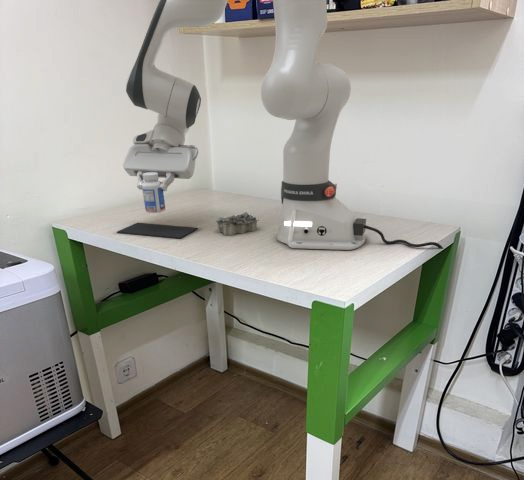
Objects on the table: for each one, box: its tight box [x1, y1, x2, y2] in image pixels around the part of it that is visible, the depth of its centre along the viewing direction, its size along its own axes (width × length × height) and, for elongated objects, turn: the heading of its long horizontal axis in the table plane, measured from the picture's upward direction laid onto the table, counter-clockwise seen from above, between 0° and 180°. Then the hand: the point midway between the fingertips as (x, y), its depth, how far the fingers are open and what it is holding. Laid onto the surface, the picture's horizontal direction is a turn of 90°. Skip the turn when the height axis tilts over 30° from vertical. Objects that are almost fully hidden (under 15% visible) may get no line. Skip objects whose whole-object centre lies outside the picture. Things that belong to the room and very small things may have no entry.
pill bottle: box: [141, 172, 166, 214], centre depth 128 cm, size 6×5×10 cm
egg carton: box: [214, 211, 260, 236], centre depth 131 cm, size 11×8×4 cm
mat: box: [116, 222, 199, 240], centre depth 133 cm, size 20×10×1 cm, turn 69°
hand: (151, 189), depth 127 cm, fingers closed on pill bottle, 5 cm apart
